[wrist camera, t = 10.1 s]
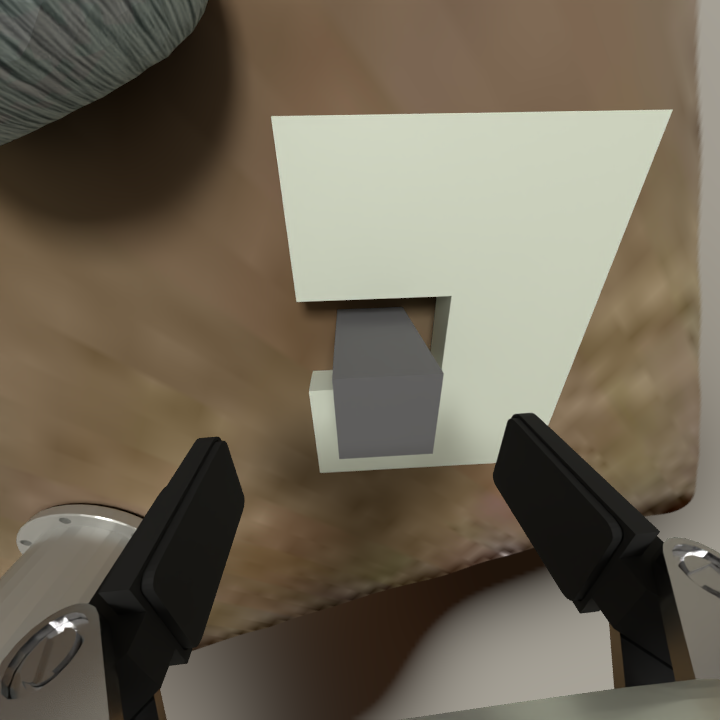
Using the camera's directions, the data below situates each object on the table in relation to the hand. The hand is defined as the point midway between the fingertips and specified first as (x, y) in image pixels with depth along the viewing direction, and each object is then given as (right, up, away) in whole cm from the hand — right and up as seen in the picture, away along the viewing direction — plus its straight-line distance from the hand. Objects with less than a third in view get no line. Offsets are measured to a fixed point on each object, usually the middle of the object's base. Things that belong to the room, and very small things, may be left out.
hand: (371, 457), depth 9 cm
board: (+4, +5, +8) cm, 11 cm away
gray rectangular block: (0, +5, +8) cm, 10 cm away
